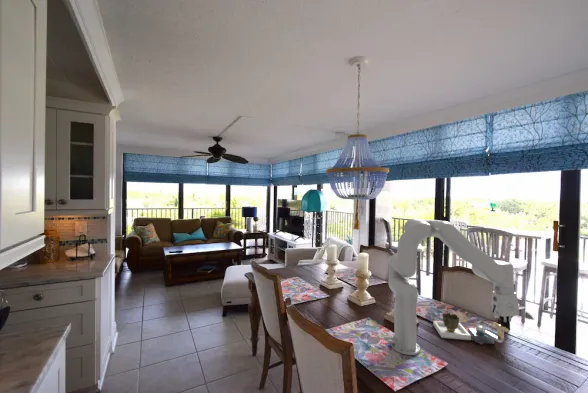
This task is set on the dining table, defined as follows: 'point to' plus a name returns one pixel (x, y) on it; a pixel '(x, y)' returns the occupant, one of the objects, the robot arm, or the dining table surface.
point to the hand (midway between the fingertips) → (505, 329)
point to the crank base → (479, 336)
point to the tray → (458, 334)
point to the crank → (497, 338)
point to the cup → (450, 321)
